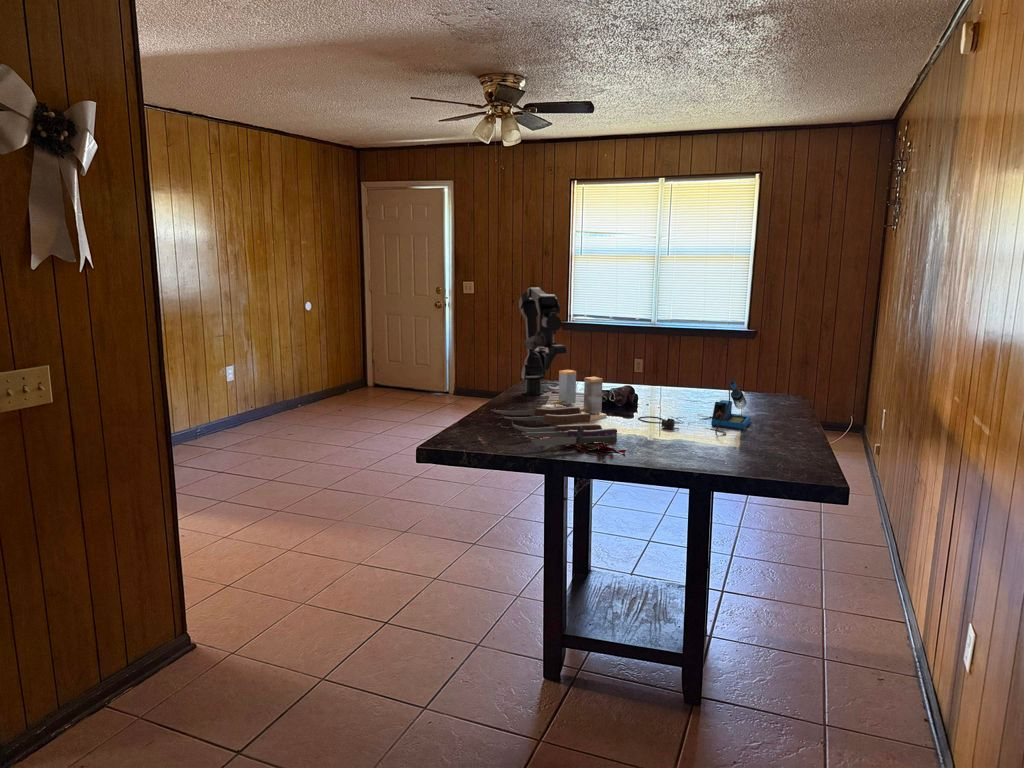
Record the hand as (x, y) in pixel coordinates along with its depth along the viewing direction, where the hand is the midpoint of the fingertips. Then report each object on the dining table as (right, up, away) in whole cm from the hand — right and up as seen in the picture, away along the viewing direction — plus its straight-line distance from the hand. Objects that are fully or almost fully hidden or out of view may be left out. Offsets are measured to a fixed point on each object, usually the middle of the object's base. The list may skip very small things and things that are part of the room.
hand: (545, 369), depth 263 cm
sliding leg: (+5, -13, -8) cm, 16 cm away
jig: (+9, -16, -12) cm, 22 cm away
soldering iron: (+49, -19, -23) cm, 58 cm away
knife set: (+1, -22, -43) cm, 49 cm away
